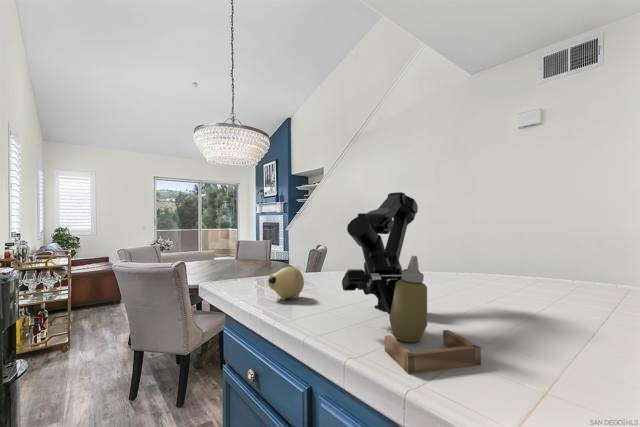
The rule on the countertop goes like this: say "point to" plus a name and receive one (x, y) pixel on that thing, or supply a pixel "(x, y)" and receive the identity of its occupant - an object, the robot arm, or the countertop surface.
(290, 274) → the beige round figure
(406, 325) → the squeeze bottle
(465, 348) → the bay
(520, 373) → the countertop surface
